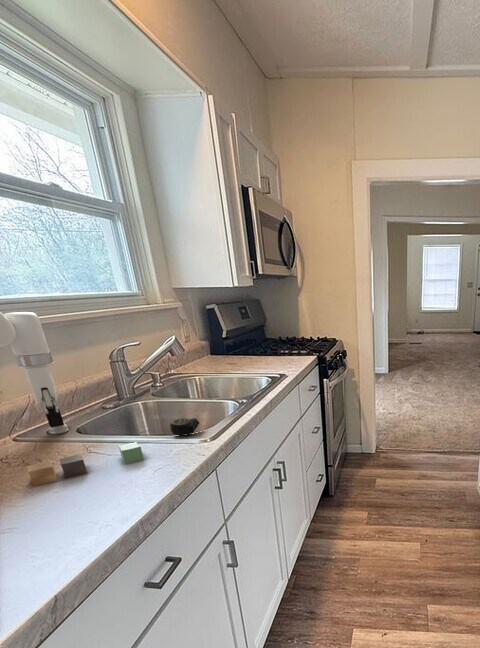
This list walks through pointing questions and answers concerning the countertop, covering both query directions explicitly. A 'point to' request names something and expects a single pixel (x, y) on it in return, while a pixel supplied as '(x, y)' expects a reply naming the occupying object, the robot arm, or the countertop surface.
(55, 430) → the rook chess piece
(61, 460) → the walnut block
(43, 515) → the countertop surface
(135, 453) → the sage block
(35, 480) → the maple block
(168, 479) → the countertop surface
